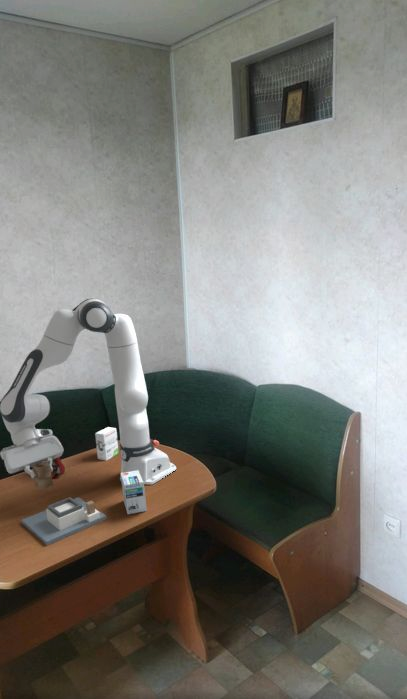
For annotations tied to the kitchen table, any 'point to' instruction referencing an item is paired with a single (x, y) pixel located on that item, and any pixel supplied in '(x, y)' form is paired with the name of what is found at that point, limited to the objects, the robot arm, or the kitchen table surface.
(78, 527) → the build plate
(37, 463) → the robot arm
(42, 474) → the walnut block
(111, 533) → the kitchen table surface
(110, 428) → the ink box
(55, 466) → the toy fire truck
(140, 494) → the light bulb box
